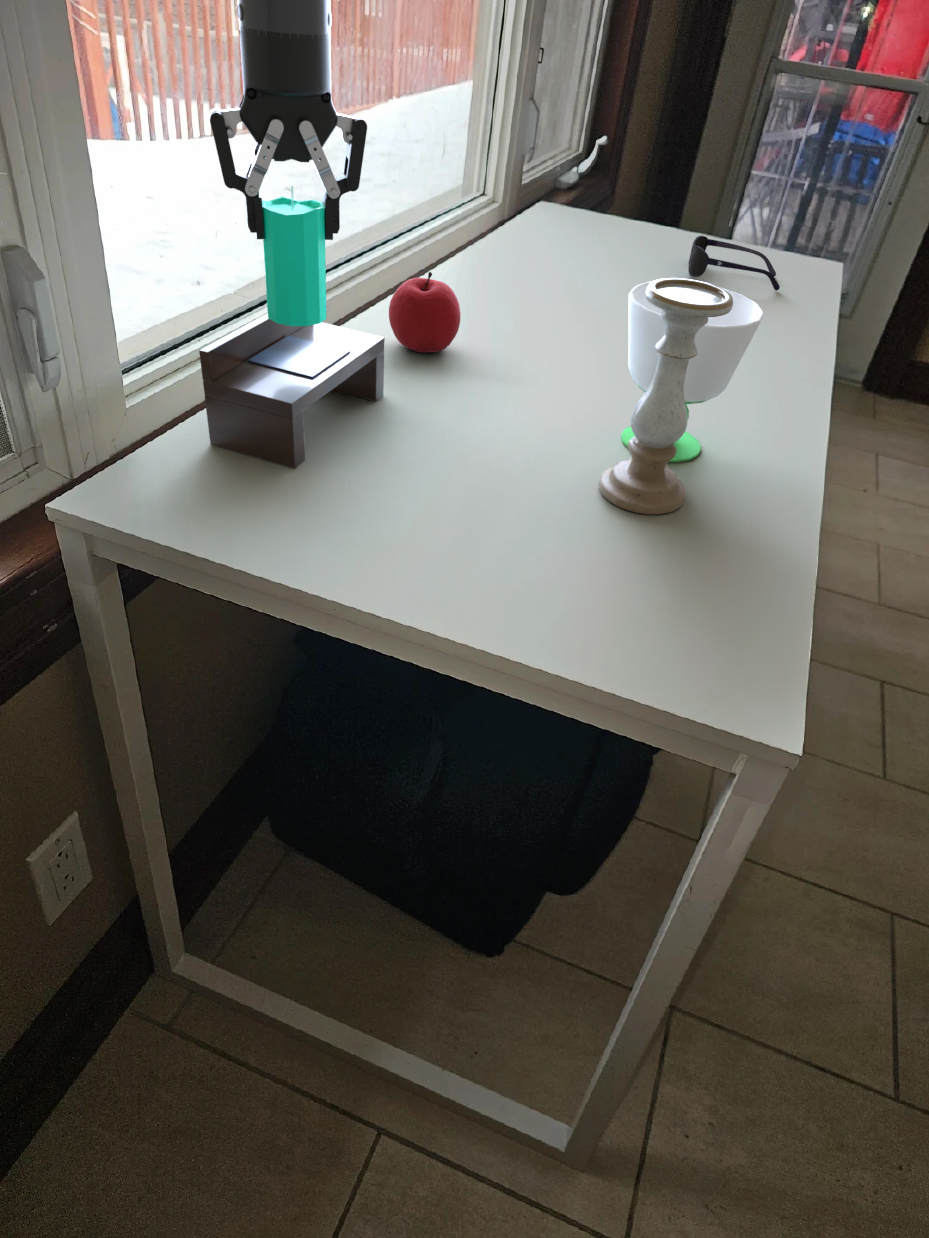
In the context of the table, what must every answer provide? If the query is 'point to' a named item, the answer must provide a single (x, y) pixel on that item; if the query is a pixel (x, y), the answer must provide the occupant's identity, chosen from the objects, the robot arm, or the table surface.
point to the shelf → (282, 383)
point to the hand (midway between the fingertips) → (293, 237)
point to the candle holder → (664, 400)
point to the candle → (295, 261)
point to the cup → (705, 372)
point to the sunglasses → (701, 260)
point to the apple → (424, 314)
